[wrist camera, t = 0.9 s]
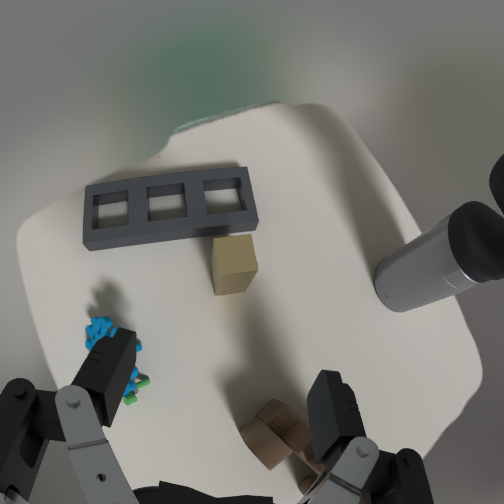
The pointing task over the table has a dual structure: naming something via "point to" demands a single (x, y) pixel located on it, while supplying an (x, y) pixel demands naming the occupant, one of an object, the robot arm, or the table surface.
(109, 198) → the grey flat frame block
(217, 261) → the brass post
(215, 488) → the table surface
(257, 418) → the wooden toy
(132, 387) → the gear
